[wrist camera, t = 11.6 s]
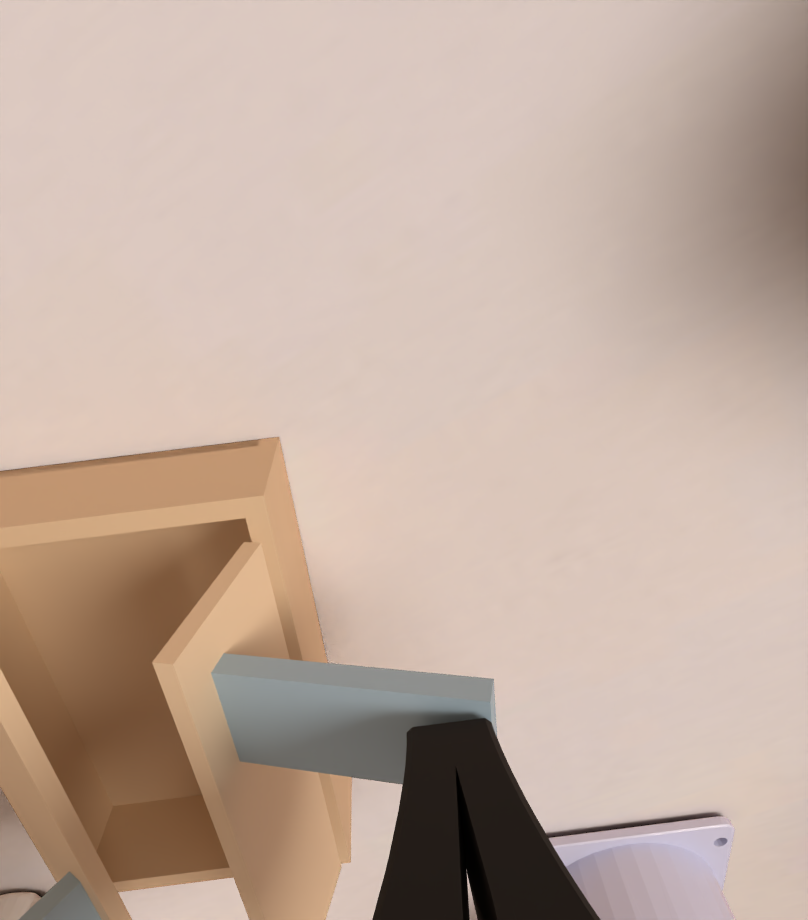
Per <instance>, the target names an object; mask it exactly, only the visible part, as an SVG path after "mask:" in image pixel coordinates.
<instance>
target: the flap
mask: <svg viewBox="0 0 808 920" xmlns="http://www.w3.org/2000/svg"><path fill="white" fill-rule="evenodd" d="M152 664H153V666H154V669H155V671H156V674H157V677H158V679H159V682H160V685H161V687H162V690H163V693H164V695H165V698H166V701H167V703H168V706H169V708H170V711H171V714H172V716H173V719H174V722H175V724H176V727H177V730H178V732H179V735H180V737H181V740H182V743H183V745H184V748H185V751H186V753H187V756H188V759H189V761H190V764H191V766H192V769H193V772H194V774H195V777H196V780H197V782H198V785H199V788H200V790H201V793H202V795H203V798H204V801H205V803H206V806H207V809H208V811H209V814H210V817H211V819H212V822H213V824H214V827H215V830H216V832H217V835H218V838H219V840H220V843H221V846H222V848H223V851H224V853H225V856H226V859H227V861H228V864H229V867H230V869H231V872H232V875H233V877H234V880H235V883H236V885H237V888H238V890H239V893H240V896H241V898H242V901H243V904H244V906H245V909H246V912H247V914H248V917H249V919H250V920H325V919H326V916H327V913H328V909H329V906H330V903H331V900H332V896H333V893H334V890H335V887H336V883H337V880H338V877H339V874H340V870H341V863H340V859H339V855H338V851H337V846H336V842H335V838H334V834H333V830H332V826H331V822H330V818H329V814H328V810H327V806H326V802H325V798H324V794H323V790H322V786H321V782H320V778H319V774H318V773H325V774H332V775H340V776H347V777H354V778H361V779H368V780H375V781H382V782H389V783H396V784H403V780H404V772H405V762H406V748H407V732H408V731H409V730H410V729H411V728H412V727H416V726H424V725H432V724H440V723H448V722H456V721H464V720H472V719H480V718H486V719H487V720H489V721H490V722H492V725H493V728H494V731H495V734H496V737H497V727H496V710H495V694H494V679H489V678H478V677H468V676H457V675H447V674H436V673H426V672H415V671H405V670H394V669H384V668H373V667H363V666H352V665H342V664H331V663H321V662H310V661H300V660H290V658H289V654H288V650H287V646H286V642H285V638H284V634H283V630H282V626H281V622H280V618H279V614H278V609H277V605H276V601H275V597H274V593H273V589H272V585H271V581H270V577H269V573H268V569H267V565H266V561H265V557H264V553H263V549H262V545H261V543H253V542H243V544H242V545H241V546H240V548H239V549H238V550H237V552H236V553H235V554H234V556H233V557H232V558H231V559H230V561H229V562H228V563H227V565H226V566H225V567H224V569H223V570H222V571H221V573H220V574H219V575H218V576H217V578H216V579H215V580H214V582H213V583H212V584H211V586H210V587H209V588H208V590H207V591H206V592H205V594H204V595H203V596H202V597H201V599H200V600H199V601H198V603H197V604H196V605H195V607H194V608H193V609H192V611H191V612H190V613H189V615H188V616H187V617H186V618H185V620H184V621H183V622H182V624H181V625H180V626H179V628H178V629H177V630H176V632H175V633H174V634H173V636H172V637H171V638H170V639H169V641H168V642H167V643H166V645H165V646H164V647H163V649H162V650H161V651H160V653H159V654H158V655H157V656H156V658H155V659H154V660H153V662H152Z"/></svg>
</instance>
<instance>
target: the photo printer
mask: <svg viewBox="0 0 808 920" xmlns="http://www.w3.org/2000/svg"><path fill="white" fill-rule="evenodd" d="M40 899H41V897H40V896H39V895H37V894H36V893H31V892H18V893H8V894H3V895H0V920H19V919H20V918H21V917H22V916H23V915H24V914H25V913H26V912H27V911H28V910H29V909H30V908H31V907H32V906H33V905H34V904H35V903H36V902H38V901H39V900H40Z"/></svg>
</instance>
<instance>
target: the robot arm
mask: <svg viewBox="0 0 808 920" xmlns="http://www.w3.org/2000/svg"><path fill="white" fill-rule="evenodd" d="M734 832H735V830H734V826H733V825H732V823H731V821H730V820H729V819H728V818H727V817H723V816H716V817H708V818H700V819H693V820H685V821H677V822H669V823H661V824H653V825H646V826H638V827H630V828H622V829H614V830H607V831H599V832H591V833H583V834H575V835H567V836H560V837H552V838H548V837H547V835H546V833H545V832H544V830H543V828H542V826H541V825H540V823H539V821H538V820H537V818H536V816H535V814H534V813H533V811H532V809H531V807H530V805H529V804H528V802H527V800H526V798H525V796H524V794H523V792H522V790H521V788H520V787H519V785H518V783H517V781H516V779H515V777H514V775H513V773H512V771H511V769H510V766H509V764H508V762H507V760H506V758H505V756H504V753H503V751H502V749H501V747H500V744H499V742H498V739H497V737H496V734H495V731H494V728H493V725H492V722H490V721H489V720H487V719H486V718H480V719H472V720H464V721H456V722H448V723H440V724H432V725H424V726H416V727H412V728H411V729H410V730H409V731H408V732H407V748H406V762H405V772H404V780H403V787H402V793H401V800H400V806H399V812H398V816H397V821H396V826H395V831H394V836H393V840H392V845H391V850H390V855H389V859H388V863H387V867H386V871H385V875H384V879H383V883H382V886H381V890H380V894H379V897H378V901H377V905H376V909H375V912H374V916H373V920H469V904H468V888H467V874H468V878H469V883H470V887H471V892H472V896H473V901H474V905H475V910H476V914H477V919H478V920H736V919H735V917H734V915H733V913H732V911H731V909H730V907H729V904H728V902H727V900H726V898H725V896H724V894H723V887H724V882H725V877H726V872H727V867H728V862H729V857H730V852H731V847H732V842H733V837H734ZM466 869H467V872H466Z"/></svg>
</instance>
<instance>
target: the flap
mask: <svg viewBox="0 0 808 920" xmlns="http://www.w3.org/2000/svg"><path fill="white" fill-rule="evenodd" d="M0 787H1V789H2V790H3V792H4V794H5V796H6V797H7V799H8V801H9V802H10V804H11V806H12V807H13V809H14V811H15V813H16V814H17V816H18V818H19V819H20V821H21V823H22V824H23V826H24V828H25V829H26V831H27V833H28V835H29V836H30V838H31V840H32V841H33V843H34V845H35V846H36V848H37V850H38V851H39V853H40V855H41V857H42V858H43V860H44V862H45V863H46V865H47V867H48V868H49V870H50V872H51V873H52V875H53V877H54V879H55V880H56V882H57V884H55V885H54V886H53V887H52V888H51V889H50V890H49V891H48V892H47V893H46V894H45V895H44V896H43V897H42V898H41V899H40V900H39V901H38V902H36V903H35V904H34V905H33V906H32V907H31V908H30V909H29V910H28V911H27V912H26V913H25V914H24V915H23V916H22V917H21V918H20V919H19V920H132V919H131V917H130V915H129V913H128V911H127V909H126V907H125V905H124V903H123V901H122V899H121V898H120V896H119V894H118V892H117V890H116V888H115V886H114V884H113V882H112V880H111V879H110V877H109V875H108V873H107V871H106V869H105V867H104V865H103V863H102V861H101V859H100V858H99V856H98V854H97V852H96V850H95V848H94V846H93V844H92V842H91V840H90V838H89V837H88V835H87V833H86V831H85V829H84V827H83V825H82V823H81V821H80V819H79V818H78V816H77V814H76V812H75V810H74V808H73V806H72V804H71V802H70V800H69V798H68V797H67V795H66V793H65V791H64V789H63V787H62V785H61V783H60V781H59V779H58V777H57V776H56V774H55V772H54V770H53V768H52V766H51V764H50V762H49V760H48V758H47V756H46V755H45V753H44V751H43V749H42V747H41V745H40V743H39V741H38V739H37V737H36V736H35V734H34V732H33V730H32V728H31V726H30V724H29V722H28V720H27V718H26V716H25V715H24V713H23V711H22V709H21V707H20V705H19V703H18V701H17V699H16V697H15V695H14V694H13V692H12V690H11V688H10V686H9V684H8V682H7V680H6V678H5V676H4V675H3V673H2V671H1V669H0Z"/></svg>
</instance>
